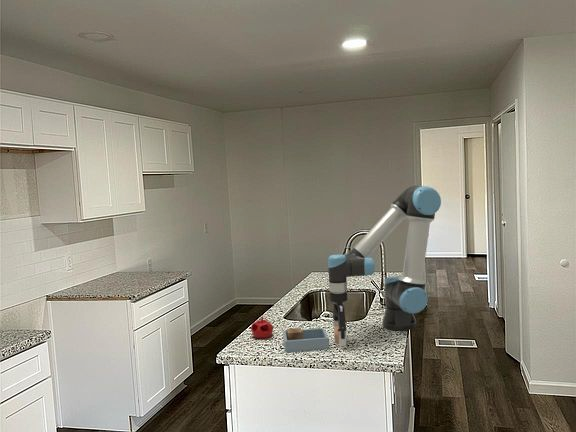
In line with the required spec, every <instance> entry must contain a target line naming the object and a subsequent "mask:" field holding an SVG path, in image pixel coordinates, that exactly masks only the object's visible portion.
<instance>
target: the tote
mask: <svg viewBox="0 0 576 432" xmlns="http://www.w3.org/2000/svg"><path fill="white" fill-rule="evenodd" d="M301 330H302V332H303V339H300V340H287V330H283V331H282V337H283V345H284V346H283V347H284V352H285V353H293V352H295V353H296V352H306V351H307V352H308V351H320V350H329V349H330V342H329V341H330V339H329V336H328V333H327V331H326V329H325V328H324V327H320V328H309V329H307V328H304V329H301Z"/></svg>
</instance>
